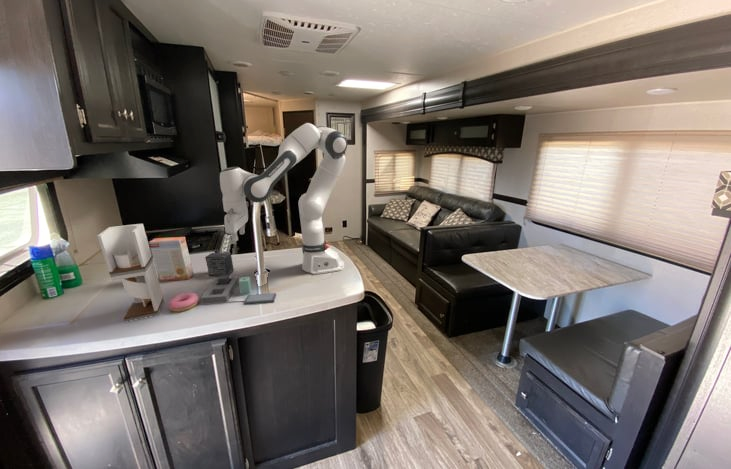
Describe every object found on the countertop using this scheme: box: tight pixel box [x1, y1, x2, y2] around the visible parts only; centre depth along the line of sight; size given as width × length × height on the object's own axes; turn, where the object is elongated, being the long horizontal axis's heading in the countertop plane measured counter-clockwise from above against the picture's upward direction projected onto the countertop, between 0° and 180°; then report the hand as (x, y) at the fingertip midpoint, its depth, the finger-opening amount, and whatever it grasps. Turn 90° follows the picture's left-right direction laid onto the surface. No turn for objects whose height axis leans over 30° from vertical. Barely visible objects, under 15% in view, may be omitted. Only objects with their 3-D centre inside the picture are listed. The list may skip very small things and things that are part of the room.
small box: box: [204, 252, 235, 277], centre depth 149 cm, size 11×6×10 cm, turn 84°
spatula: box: [226, 292, 277, 305], centre depth 124 cm, size 20×6×1 cm, turn 97°
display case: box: [96, 223, 165, 322], centre depth 113 cm, size 11×11×35 cm
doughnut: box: [167, 292, 199, 313], centre depth 121 cm, size 11×11×4 cm
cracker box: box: [148, 236, 194, 282], centre depth 143 cm, size 14×6×21 cm, turn 95°
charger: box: [238, 276, 253, 295], centre depth 131 cm, size 4×4×7 cm
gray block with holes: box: [200, 275, 240, 305], centre depth 131 cm, size 10×18×6 cm, turn 7°
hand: (239, 237), depth 127 cm, fingers open, 8 cm apart
